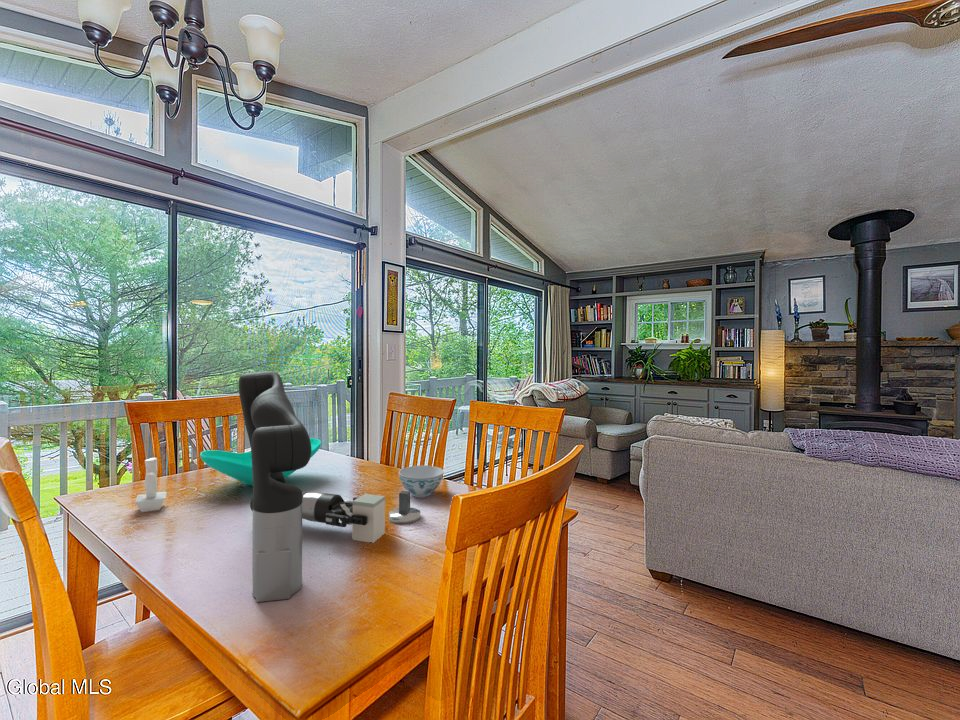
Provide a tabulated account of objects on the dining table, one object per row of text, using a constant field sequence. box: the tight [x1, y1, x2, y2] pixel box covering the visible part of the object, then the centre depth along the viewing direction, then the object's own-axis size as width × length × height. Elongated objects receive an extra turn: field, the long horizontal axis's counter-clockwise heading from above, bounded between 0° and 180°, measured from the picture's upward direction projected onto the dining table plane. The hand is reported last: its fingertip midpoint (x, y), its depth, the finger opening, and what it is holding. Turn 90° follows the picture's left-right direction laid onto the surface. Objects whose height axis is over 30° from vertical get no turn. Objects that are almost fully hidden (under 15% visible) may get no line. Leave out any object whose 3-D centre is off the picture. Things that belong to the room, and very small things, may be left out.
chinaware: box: [398, 465, 445, 498], centre depth 151 cm, size 15×15×8 cm
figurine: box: [134, 457, 168, 513], centre depth 134 cm, size 7×9×15 cm
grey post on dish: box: [388, 490, 421, 525], centre depth 130 cm, size 9×9×8 cm
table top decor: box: [199, 437, 323, 487], centre depth 160 cm, size 40×28×13 cm
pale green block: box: [351, 493, 386, 544], centre depth 117 cm, size 6×6×10 cm
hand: (375, 514), depth 117 cm, fingers open, 8 cm apart
